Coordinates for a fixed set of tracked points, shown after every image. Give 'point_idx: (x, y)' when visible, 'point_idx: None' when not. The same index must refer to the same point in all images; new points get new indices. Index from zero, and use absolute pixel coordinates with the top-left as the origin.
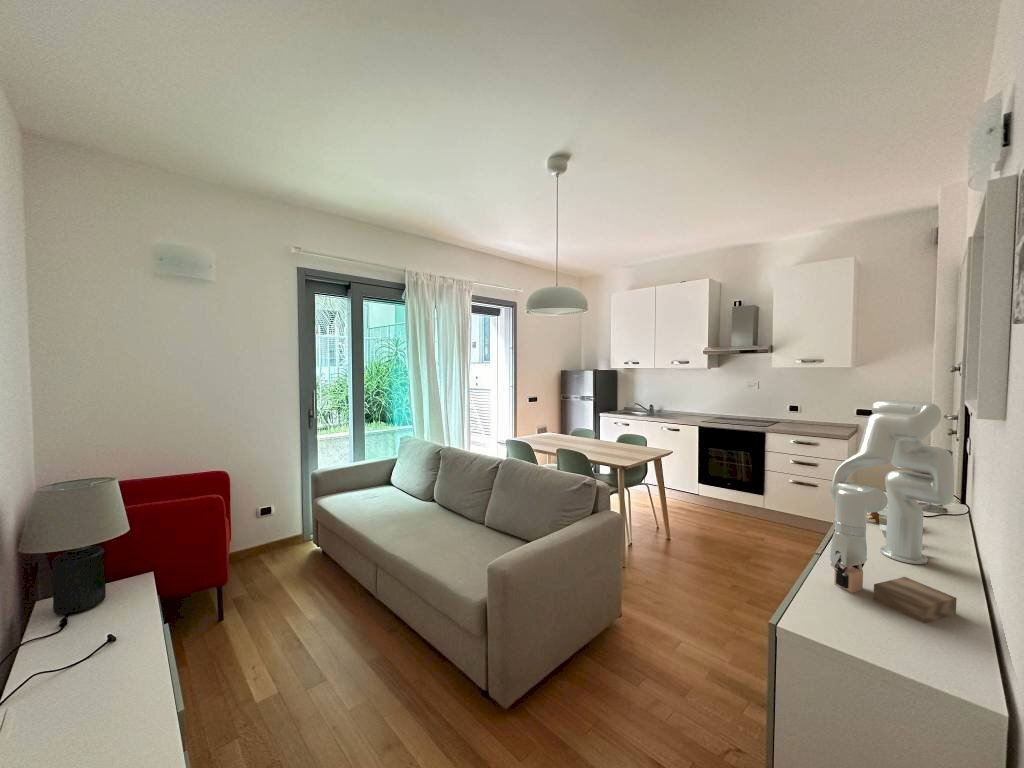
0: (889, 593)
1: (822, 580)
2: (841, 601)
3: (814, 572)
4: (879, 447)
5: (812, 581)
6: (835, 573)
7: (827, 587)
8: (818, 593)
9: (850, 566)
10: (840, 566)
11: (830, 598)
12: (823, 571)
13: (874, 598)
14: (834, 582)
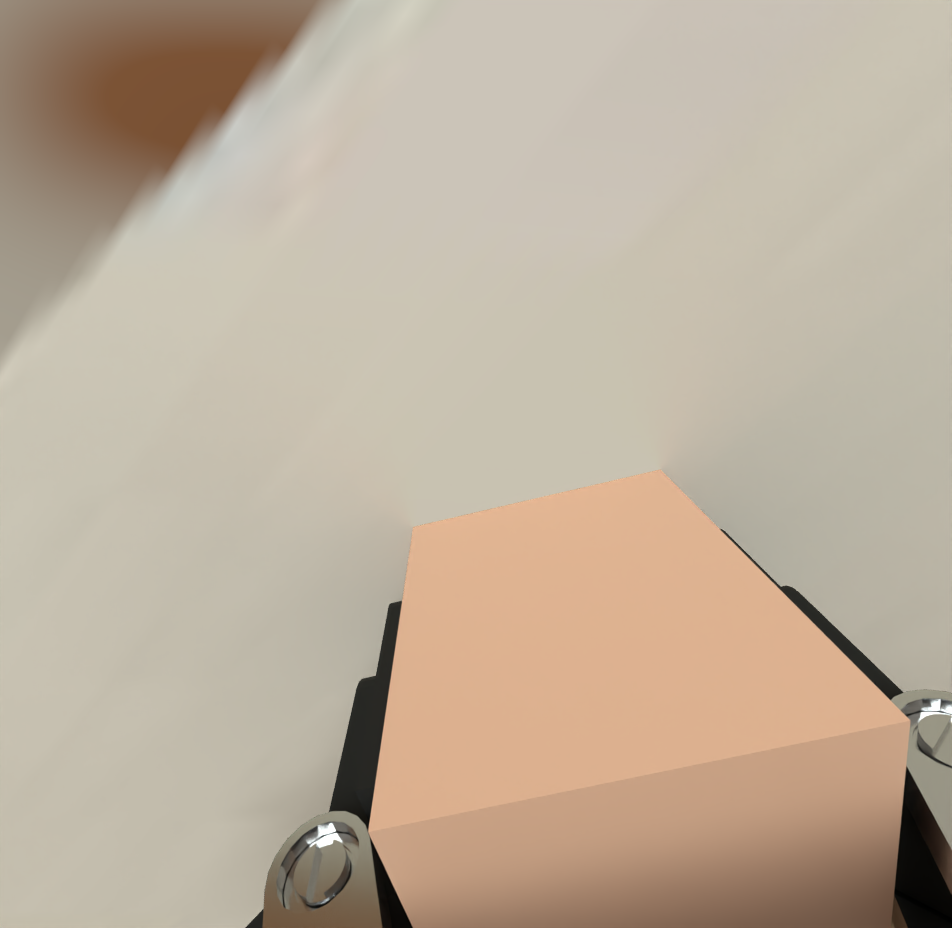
0: None
1: (304, 408)
2: (196, 841)
3: (368, 80)
4: None
5: (96, 426)
6: (401, 668)
7: (236, 597)
8: (3, 712)
9: (848, 853)
10: (541, 843)
11: (101, 798)
12: (610, 53)
13: None
14: (411, 544)
